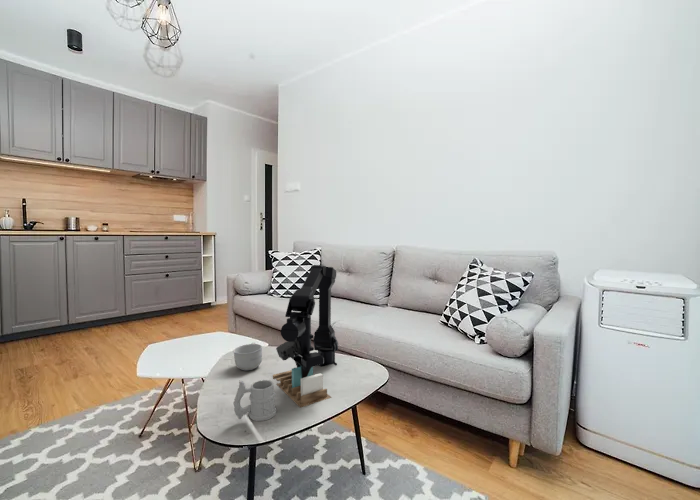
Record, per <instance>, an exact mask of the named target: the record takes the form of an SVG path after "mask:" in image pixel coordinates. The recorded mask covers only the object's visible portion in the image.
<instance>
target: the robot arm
mask: <svg viewBox="0 0 700 500" xmlns="http://www.w3.org/2000/svg"><path fill="white" fill-rule="evenodd" d="M309 270H310V271H309V273H308V275H307V276H306V278H305V281H304V282H303V284H302V286H301V287H300V288H299V289H296V290H295V291H294V292H293V294H292V295H291V296H290V298H289V300H288V304H287V307H286V308H287V309H286V311H285V318H286V323H284V324H283V325H282V327H281V329H280V335H281V337H282V339H283V340H284V341H285V342H283V343H281V344H280V345H278V346H277V347H276V348H275V350H276V353H277V356H278V357H279V358H280V359H281V360H282V361H287V360H289V359H291V360H292V361H294V363H295V366H296V368H297V367H301V374H302V378H304V377H307V375H308V373H309V371H310V369H311V367H313V368H314V367H317V366H319V367H321V368H322V367H327V366H331V365H335V366H337V365H338V363H337V362H336V352H337V351H338V350H339V341H338V339H337V337H336V334H335V333H336V332H335V330H334V328H333V326H332V324H331V323H332V321H331V320H332V319H331V318H332V317H331V316H332V311H331V309H332V308H331V306H332V301H331V300H332V295H331V294H332V288H333V286H334V284H335V283H336V279H337V270H336V269H335V268H334V267H332V266H326V265H323V264H313V265H311V266H310V269H309ZM317 289H318V327H317V329H316V330H315V331H314V335H313V334H312V316H313V313H314V309H315V305H316V300H315V293H316V291H317ZM312 340H313V346H314V347H313V346H312ZM312 351H315V352H312Z"/></svg>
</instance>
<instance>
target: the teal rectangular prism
mask: <svg viewBox="0 0 700 500" xmlns="http://www.w3.org/2000/svg"><path fill="white" fill-rule="evenodd" d="M291 370H292V388H294V387H297V386H301V378H302V374H301V367H297V366H296V367H294V368H291ZM312 375H314V367H311V369H310V371H309V373H308V375H307V377H308V376H312Z"/></svg>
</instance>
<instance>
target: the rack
mask: <svg viewBox="0 0 700 500" xmlns="http://www.w3.org/2000/svg"><path fill="white" fill-rule="evenodd" d="M276 386H278V388H280V389H281V390H282V392H284V393H285V394H286V395H287V396H288V398H290V399H291V401H293V402H294V403H295V404H296V405H297V406H298V407H299V408H301V409H302V408H303V407H307V406H310V405H313V404H317V403H319V402H322V401H325V400H328V399H332V398H333V397H332V396H331V395H330V394H328V388H323V390H319V391H316V392H313V393H310V394H306V395H303V396H301V386H297V387H294V388H292V375H289V376H285V377H281V378H280V380H279V382H278V383H276Z"/></svg>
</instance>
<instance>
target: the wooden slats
mask: <svg viewBox="0 0 700 500" xmlns="http://www.w3.org/2000/svg"><path fill="white" fill-rule="evenodd" d="M289 375H292V369H290V370H287V371H282V372H279V373H275V374H272V380H276V381H279V382H280V378H281V377H285V376H289Z"/></svg>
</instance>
